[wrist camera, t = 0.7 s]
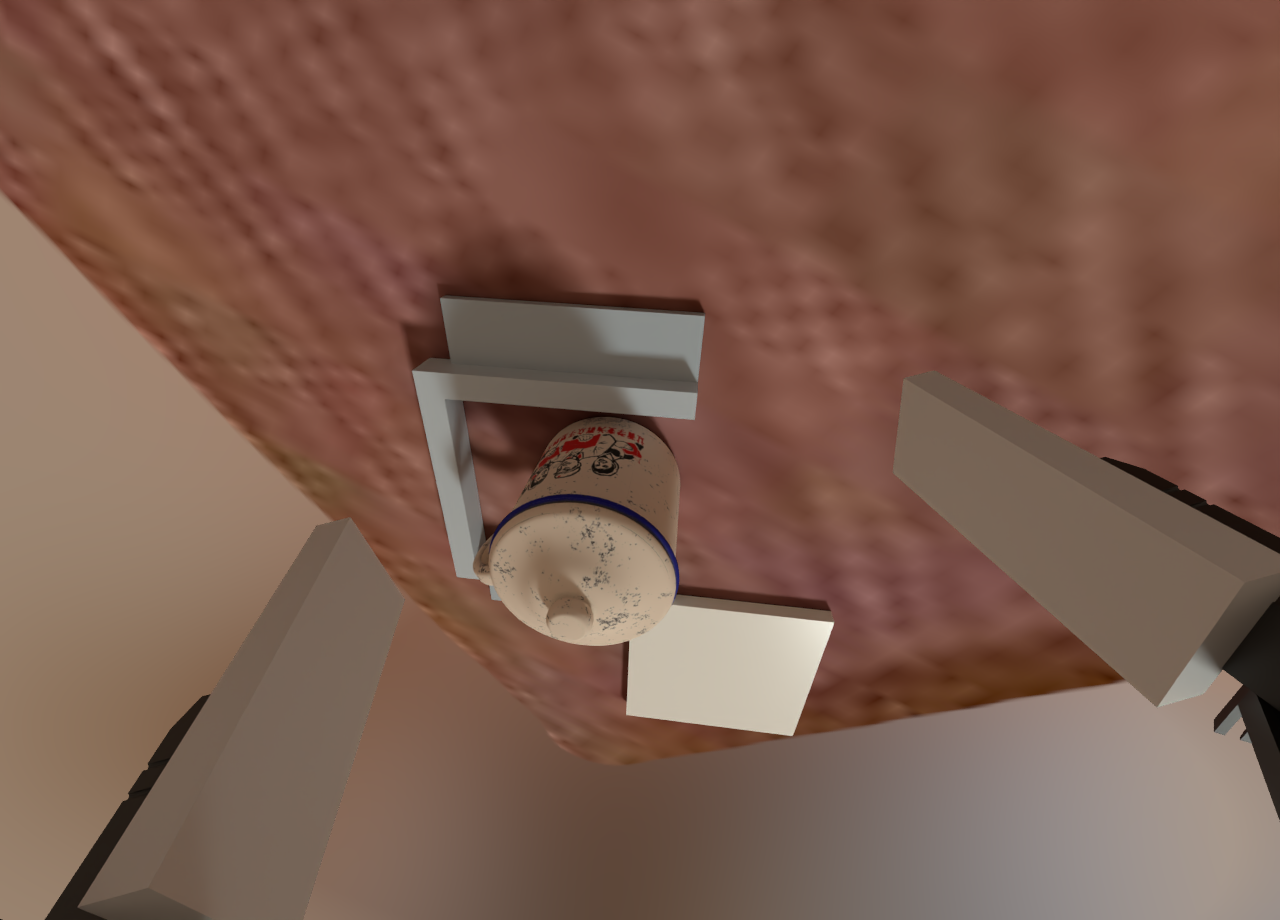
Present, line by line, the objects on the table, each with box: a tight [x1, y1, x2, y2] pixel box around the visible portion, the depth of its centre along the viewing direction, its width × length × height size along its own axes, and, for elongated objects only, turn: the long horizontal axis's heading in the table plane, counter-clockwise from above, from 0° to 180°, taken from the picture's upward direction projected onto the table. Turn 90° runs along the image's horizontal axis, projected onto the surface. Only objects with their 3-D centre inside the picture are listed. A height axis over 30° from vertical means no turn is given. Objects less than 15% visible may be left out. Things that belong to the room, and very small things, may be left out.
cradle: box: [412, 295, 705, 601], centre depth 30 cm, size 22×15×2 cm
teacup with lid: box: [473, 417, 680, 646], centre depth 26 cm, size 12×9×12 cm
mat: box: [626, 595, 834, 736], centre depth 38 cm, size 14×14×1 cm
